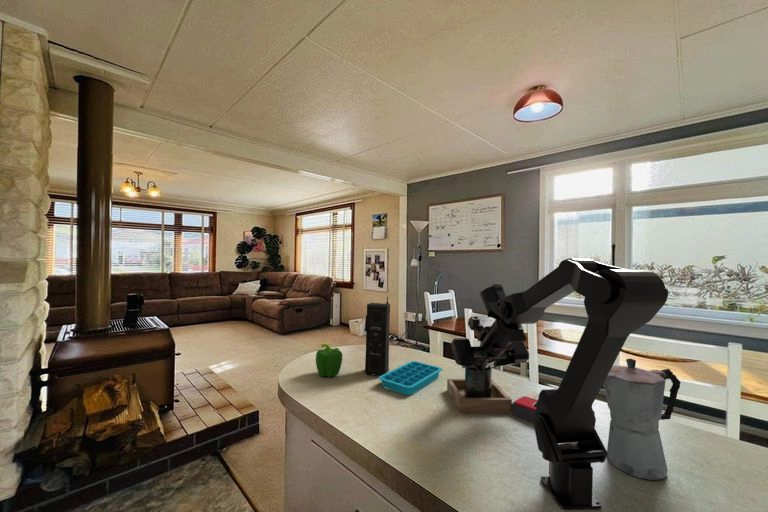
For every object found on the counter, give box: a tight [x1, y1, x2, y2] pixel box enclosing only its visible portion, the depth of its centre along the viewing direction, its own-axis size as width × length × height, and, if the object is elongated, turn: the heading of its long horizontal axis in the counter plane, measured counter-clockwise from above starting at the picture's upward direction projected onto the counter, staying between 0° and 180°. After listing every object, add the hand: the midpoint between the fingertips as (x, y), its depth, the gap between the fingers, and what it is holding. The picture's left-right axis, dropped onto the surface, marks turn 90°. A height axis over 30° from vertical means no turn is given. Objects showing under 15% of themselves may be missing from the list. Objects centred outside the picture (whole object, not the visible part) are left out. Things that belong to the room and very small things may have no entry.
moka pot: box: [602, 358, 681, 481], centre depth 59 cm, size 10×15×20 cm, turn 94°
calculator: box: [511, 391, 596, 424], centre depth 75 cm, size 11×4×15 cm
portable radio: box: [364, 296, 391, 376], centre depth 103 cm, size 8×6×25 cm
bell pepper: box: [315, 343, 343, 378], centre depth 100 cm, size 8×8×10 cm
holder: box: [446, 378, 513, 414], centre depth 84 cm, size 13×13×3 cm
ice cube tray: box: [378, 360, 443, 396], centre depth 96 cm, size 12×20×3 cm, turn 143°
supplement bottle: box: [464, 357, 493, 398], centre depth 84 cm, size 7×7×12 cm
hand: (478, 365), depth 84 cm, fingers open, 9 cm apart
